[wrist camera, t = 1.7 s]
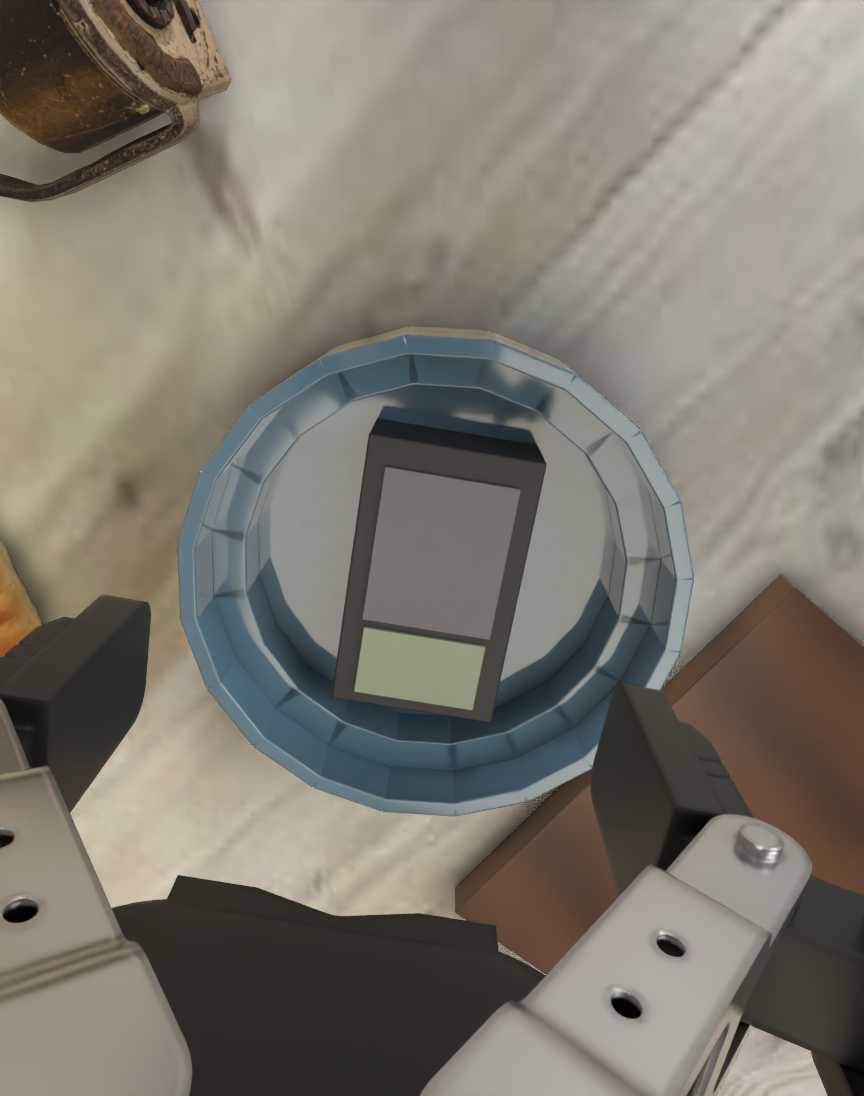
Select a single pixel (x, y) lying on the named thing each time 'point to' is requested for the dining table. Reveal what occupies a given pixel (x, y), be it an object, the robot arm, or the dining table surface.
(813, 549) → the dining table surface
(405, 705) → the calculator
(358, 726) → the bowl
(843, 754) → the board
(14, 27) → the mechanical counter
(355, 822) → the dining table surface
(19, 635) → the pastry
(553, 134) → the dining table surface
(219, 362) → the dining table surface
